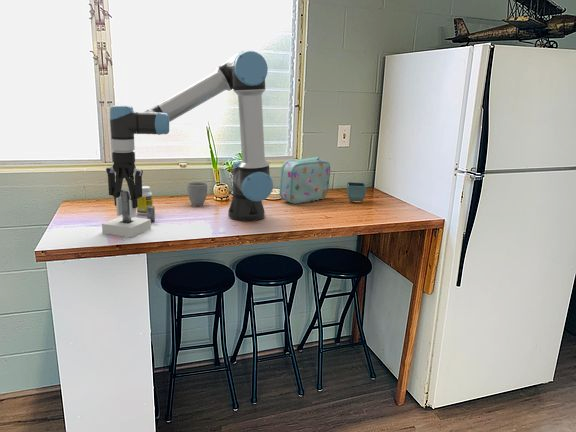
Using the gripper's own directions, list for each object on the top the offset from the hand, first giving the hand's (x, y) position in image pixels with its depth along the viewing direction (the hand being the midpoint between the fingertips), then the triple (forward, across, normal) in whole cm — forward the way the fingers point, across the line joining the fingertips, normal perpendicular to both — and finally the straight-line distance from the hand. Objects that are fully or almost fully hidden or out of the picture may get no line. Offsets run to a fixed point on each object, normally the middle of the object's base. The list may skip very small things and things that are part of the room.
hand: (126, 215), depth 169 cm
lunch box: (+6, -47, -76) cm, 90 cm away
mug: (+6, -3, -48) cm, 48 cm away
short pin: (+6, -1, -14) cm, 15 cm away
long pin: (+6, 0, 0) cm, 6 cm away
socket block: (+6, 0, 0) cm, 6 cm away
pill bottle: (+6, +8, -24) cm, 26 cm away
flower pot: (+6, -71, -85) cm, 111 cm away
